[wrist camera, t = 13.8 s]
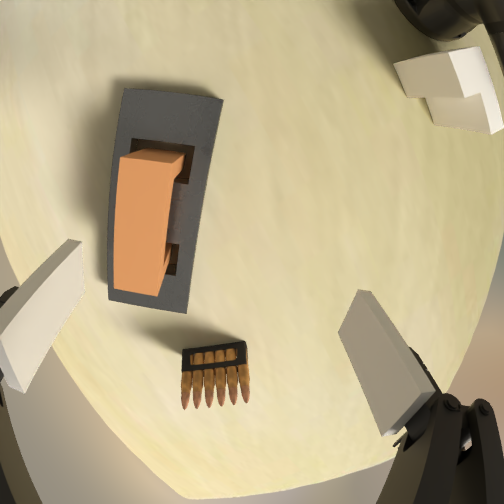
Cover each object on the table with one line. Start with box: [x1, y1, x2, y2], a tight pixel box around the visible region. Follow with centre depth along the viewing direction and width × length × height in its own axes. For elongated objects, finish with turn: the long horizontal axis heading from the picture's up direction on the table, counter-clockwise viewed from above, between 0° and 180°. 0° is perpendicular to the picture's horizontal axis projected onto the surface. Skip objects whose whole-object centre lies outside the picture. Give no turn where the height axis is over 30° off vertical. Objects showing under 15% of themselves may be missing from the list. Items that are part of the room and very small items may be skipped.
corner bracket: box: [393, 46, 504, 135], centre depth 26 cm, size 11×11×12 cm
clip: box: [114, 148, 186, 296], centre depth 31 cm, size 14×5×10 cm, turn 168°
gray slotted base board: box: [107, 88, 224, 314], centre depth 35 cm, size 28×12×3 cm, turn 168°
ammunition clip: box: [181, 341, 250, 410], centre depth 41 cm, size 11×2×12 cm, turn 98°
